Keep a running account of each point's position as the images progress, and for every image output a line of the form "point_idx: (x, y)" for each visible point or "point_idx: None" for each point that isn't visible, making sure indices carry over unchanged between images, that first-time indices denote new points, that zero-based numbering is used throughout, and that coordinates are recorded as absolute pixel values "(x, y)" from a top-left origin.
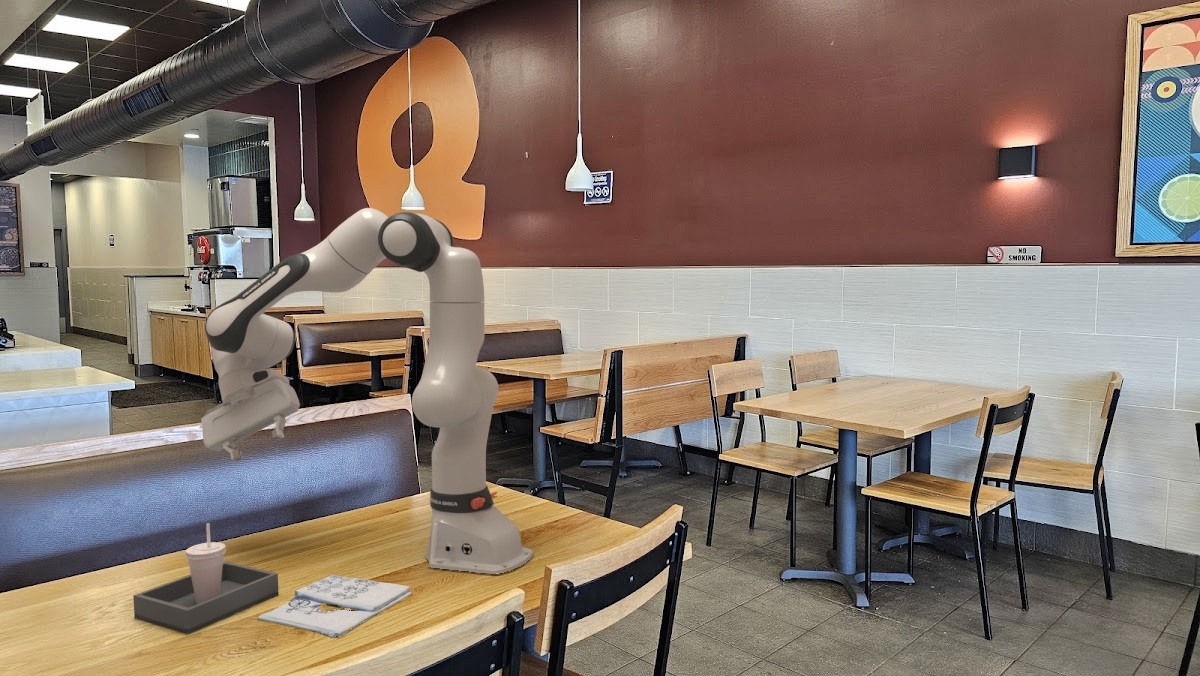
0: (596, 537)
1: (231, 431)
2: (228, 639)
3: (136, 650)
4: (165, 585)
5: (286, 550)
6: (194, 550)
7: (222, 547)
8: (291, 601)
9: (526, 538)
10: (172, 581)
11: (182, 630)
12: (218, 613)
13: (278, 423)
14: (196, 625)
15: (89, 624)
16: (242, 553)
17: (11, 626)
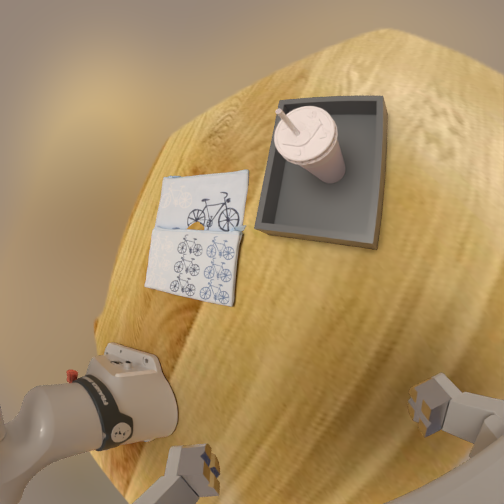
0: None
1: (482, 472)
2: (246, 128)
3: (311, 77)
4: (376, 131)
5: (374, 405)
6: (310, 115)
7: (278, 146)
8: (238, 219)
9: None
10: (380, 145)
11: None
12: None
13: (149, 493)
14: None
15: (418, 87)
16: (443, 373)
17: (482, 64)
